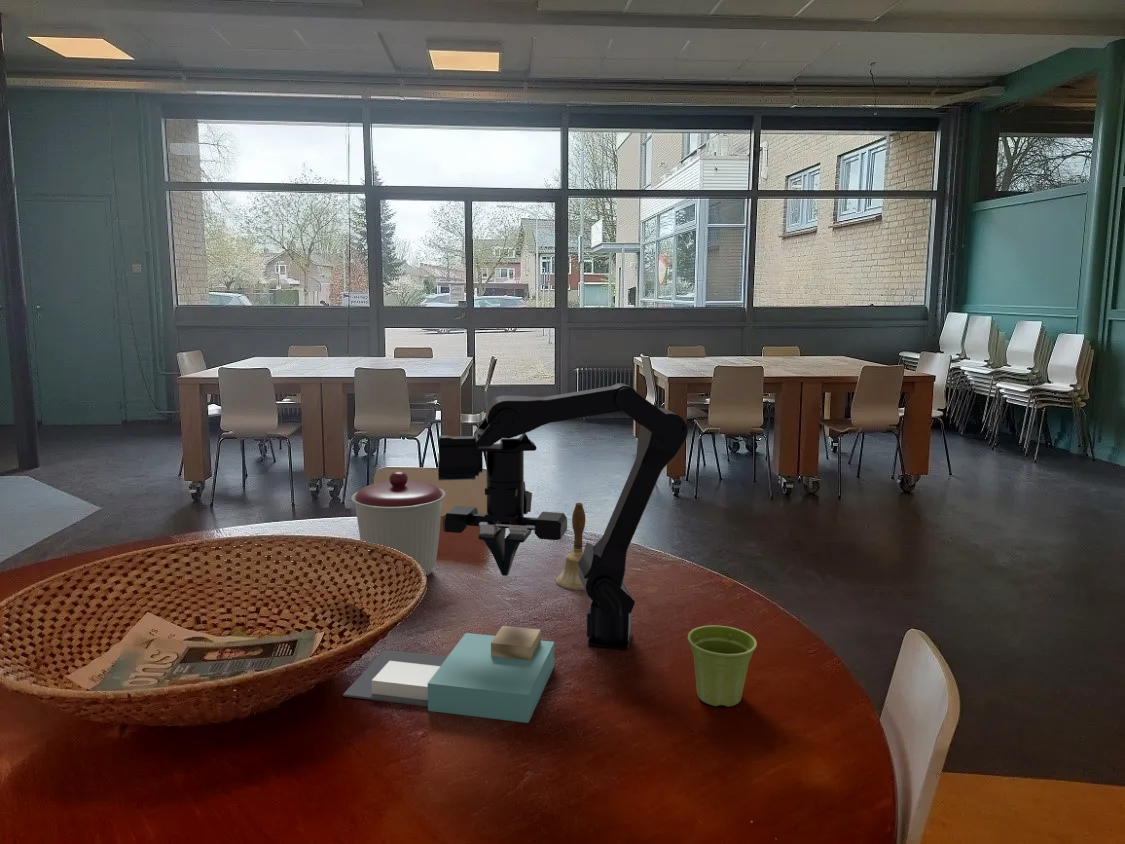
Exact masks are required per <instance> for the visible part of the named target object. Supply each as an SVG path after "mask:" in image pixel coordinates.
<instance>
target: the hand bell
mask: <svg viewBox="0 0 1125 844" xmlns="http://www.w3.org/2000/svg"><path fill="white" fill-rule="evenodd" d="M574 505H575V506H574V509H573V511H572V512H573V513H572V517H571V526H572V530H573V535H574V540H573V551H572V552H570V553H568V554H567V555H566V559H565V563H564V567H563V570H562V572H561V573H560V574H559V575H558V576H557V578H556V579H555V583H556V584H557V585H558V586H559V587H561V588H564V589H566V590H572V591H573V590H577V591H581V590H582V591H583V590H584V591H585V589H584V587H583V585H582V583H581V580H580V578H579V573H578V571H579V567H578V565H577V562H578V561H579V560H580V559H581V557H582V556H583V553H584V550H583V547H584V546H583V533H584V530H585V527H586V513H585V509H584V506H583V503H582V502H576V503H575V504H574Z"/></svg>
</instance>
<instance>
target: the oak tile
mask: <svg viewBox="0 0 1125 844" xmlns="http://www.w3.org/2000/svg"><path fill="white" fill-rule="evenodd" d="M541 631H542V629H538V628H530V627H529V628H528V627H517V626H509V625H508V626H507V625H502V626H501V628H499V630H498V632H497V633H496V634H495V635H494V636H495V637H494V639H493V640H492V642H491V656H496V657H506V658H515V659H525V660H531V659H532V658H533V656H534V654H535V652H536V650H537V648H538V646H539V644H540V642H541V641H542V639H541V638H542V635H541V634H542V632H541Z"/></svg>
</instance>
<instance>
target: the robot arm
mask: <svg viewBox="0 0 1125 844" xmlns="http://www.w3.org/2000/svg"><path fill="white" fill-rule="evenodd" d="M616 412H622V413H624V414H625V415H626V416H628V417H629V418H630V419H631V420H633V421H635V423H637V424H638V425H640V429H639V432H638V436H637V442H636V443H637V444H636V457H635V460H634V462H633V465H632V467H631V469H630V471H629V474H628V476H627V479H626V481H625V484H624V485H623V488H622V491H621V493H620V495H619V498H618V499H617V502H616V505H615V507H614V510H613V511H612V514H611V516H610V518H609V521H608V522H607V525H606V527H605V530H604V532H603V535H602V537H600V539H599V540H598V541H597V542H596V543H595V544H594V545H593V544H591V543H589V542H586V543H585V545H584V550H583V556H582V557H581V559H580V560H579V561H578V562H577V565H578V567H579V571H578V573H579V578H580V580H581V583H582V585H583V587H584V589H585V590H584V591H585V592H586V594H587V597H588V598H589V599H591V600H592V602H591V604H590V607H589V609H588V611H587V613H586V637H587V638H588V641H587V645H588V646H590V647H597V648H598V647H599V648H609V649H619V650H628V649H629V648H630V647H629V646H630V643H631V639H632V636H633V630H632V629H631V627H632V626H631V622H632V611H633V609H634V606H635V604H636V601H635V599H634V598H633V596H632V595H631V593H630V591H629V589H628V588H627V586H626V585H625V583H624V577H625V574H626V565H627V563H626V562H627V554H628V549H629V547H630V545H631V542H632V539H633V537H634V535H635V533H636V531H637V528H638V526H639V524H640V522H641V519H642V517H643V514H644V513H645V511H646V508H647V507H648V503H649V500H650V498H651V497H652V494H653V491H654V489H655V487H656V485H657V482H658V480H659V478H660V475H661V473H662V471H663V470H664V469H665V468H666V467H667V466H668V465H669V463H671V462H672V460H674V459H675V458H676V456H677V454H678V453H679V452H680V450H681V448H682V447H683V445H684V443H685V442H686V441H687V439H688V434H689V428H688V425H687V423H686V421H685V420H684V419H683V417H681V416H680V415H679V414H677V413H674V411H671V410H669V409H667V408H664V407H657V406H656V405H654V404H653V403H652V402H650V401H648V400H647V399H646V398H644V397H643V396H641V395H640V394H639V393H638V392H637V391H636V390H635V389H634V388H633V387H632V386H630V385H627V384H625V383H623V382H622V383H621V382H619V383H615V384H613V385H608V386H603V387H597V388H592V389H585V390H579V391H573V392H567V393H560V394H554V395H548V396H529V395H499V396H495V397H494V398H492V399H491V401H490V402H489V403H488V404H487V406H486V408H485V414H484V415H485V418H484V419H483V421H482V422H480V424H479V426H477V428H475V429H476V430H475V431H474V432H473V435H470V436H469V435H468V436H467V435H466V436H465V435H462V436H454V435H447V434H446V435H444V434H443V435H439V436H438V446H439V448H438V450H439V452H438V454H437V458H438V459H437V464H438V465H437V466H438V467H437V468H438V469H437V470H438V473H437V475H438V481H470V480H471V481H473V480H476V476H477V477H479V475H480V474H482V473H483V469H484V468H483V464H484V463H483V462H484V461H483V458H484V457H483V453H486V455H485V456H486V487H485V488H484V496H486V513H485V514H484V513H479V511H478V509H477V506H466V505H465V506H464V505H455V506H454V507H453V508H451V510H449V511H448V512H446V513H445V515H444V516H443V518H442V531H443V532H445V533H454V534H461V533H462V532H464V531H465V530H466V529H467V527H468V526H469V527H470V526H471V527H479V534H478V536H477V537H478V540H481V541H484V543H485V545H486V546H487V548H488V549H489V551H490V553H491V555H492V556H493V558H494V561H495V563H496V564H497V567H498V570H499V571H500V574H501V575H502V576H504V577H508V576H509V574H510V572H511V571H510V570H511V568H512V566H513V563H514V560H515V556H516V553H517V550H518V548H519V546H520V544H522V543H525V542H526V540H527V539H528V537H530V535H531V534H532V531H534V534H535V536H536V537H537V538H538V540H549V541H550V540H551V541H558V540H559V541H561V539H562V538H563V536H564V535H565V533H566V532H567V530H568V517H567V516H566V514H565V513H564V512H553V511H542V512H541V513H540V514H539V516H537V517H530V516H529V517H527V516H525V515H527V514H528V513H531V511H532V510H531V509H532V501H533V499H532V498H533V492H531V491H528V490H526V481H525V480H524V479H525V478H524V477H525V476H524V472H525V471H524V469H525V468H524V467H525V465H524V460H525V459H524V458H525V457H524V452H531V451H532V452H535V451H536V450H537V448H538V447H537V446H536V443H534V442H533V441H532V440H531V439H530V438H529V437H528V434H527V433H529V432H532V431H534V430H536V429H538V428H541V427H542V426H545V425H548V424H552V423H556V422H563V421H564V422H565V421H569V420H576V419H581V418H586V417H593V416H598V415H605V414H610V413H611V414H612V413H616ZM519 436H520V437H519ZM516 437H517V438H516ZM498 441H500V443H497V442H498ZM506 529H508V532H509V533H508V535H507V536H506V531H507V530H506Z"/></svg>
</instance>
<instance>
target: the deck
mask: <svg viewBox="0 0 1125 844" xmlns="http://www.w3.org/2000/svg"><path fill="white" fill-rule="evenodd" d="M495 636H496V635H489V634H478V633H469V632H465V633H464V635H463V636H462V637H461V638H460V640H459V641H458V643H457V644H456V645H455V646H454V648H453V649H452V651H451V652H450V653H449V654H448V655H447V658H446V660H445V661H444V662H443V664H442V665H441V666H440V668H439V669H438V670H437V671H436V673H435V674H434V675H433V677H432V678H431V679H430V681H429V682H428V706H427V711H428V712H437V713H444V714H452V715H460V716H461V715H462V716H469V717H475V718H485V719H491V720H492V719H493V720H501V721H509V722H517V723H525V724H529V722H530V721H531V718H532V716H533V714H534V711H535V709H536V707H537V705H538V703H539V701H540V699H541V696H542V695H543V692H544V690H545V688H546V685H547V683H548V681H549V679H550V676H551V675H552V672H553V670H554V668H555V641H550V640H549V641H548V640H541V642H540V644H539V646H538V648H537V650H536V652H535V654H534V656H533V658H532V659H531V660H525V659H515V658H506V657H496V656H491V642H492V640H493V639H494V637H495Z"/></svg>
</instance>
